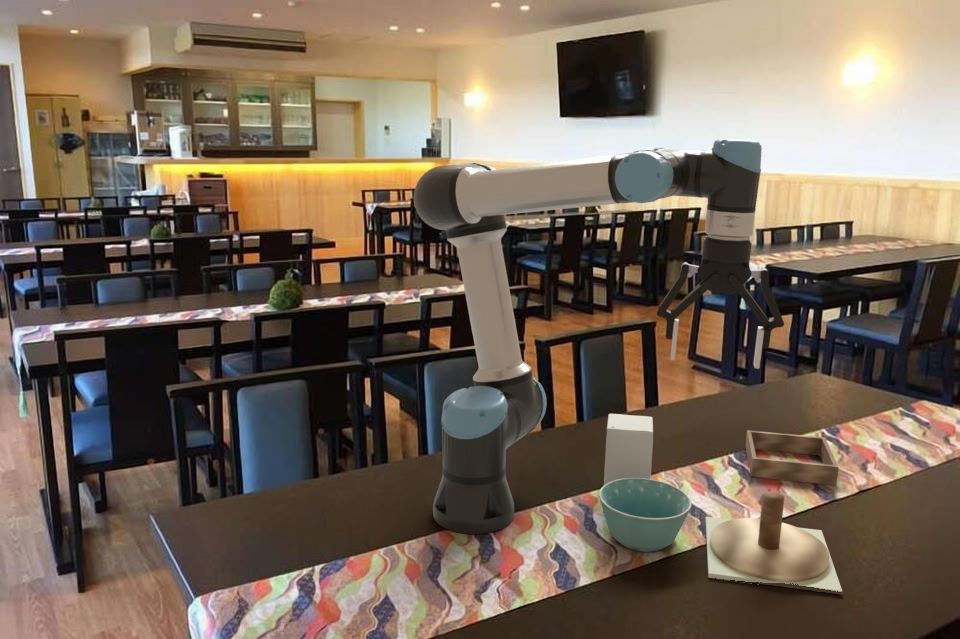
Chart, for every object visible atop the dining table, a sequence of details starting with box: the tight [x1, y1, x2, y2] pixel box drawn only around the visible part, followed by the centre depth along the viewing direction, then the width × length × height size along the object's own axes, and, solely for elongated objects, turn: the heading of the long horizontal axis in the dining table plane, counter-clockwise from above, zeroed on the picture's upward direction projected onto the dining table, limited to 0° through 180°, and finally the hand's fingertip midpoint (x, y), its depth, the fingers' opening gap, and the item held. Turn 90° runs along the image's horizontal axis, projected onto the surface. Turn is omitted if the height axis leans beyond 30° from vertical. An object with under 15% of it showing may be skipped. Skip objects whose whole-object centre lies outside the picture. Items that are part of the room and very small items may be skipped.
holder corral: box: [744, 429, 839, 486], centre depth 172 cm, size 17×17×4 cm
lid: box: [710, 490, 830, 582], centre depth 134 cm, size 19×19×10 cm
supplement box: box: [603, 413, 654, 486], centre depth 157 cm, size 9×9×15 cm
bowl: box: [598, 478, 692, 553], centre depth 140 cm, size 16×16×8 cm
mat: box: [705, 516, 843, 593], centre depth 136 cm, size 20×20×1 cm
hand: (714, 362), depth 134 cm, fingers open, 13 cm apart
